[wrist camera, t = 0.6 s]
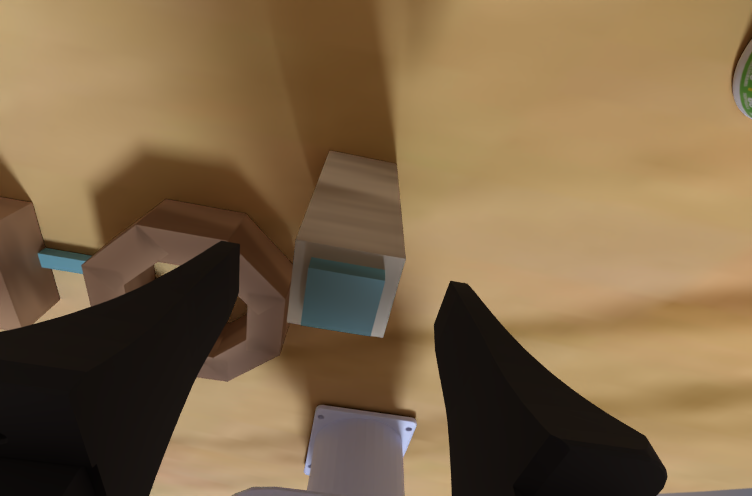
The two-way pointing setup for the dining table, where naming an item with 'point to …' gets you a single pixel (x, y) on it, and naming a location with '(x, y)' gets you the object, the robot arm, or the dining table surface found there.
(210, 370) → the brown faceted ring
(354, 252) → the brown and teal block
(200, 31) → the dining table surface
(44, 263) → the light blue thin bar
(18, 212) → the threaded bead
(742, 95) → the supplement bottle
